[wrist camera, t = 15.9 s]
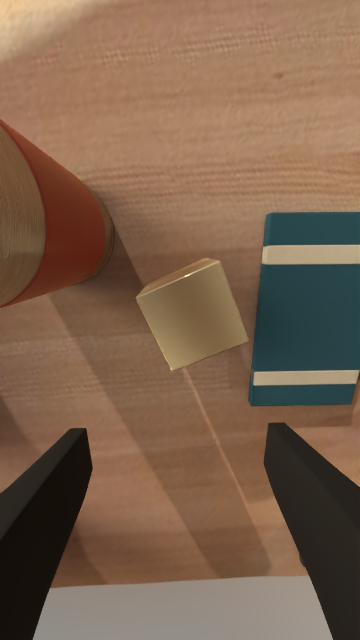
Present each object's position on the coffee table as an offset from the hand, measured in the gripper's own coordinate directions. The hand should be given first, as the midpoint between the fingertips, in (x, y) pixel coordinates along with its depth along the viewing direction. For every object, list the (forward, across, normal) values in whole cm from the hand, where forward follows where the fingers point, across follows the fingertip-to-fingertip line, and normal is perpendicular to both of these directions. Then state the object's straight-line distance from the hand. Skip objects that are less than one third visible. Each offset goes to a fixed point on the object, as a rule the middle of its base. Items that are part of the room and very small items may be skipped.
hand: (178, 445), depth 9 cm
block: (+8, -1, -4) cm, 9 cm away
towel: (+8, -10, -3) cm, 13 cm away
